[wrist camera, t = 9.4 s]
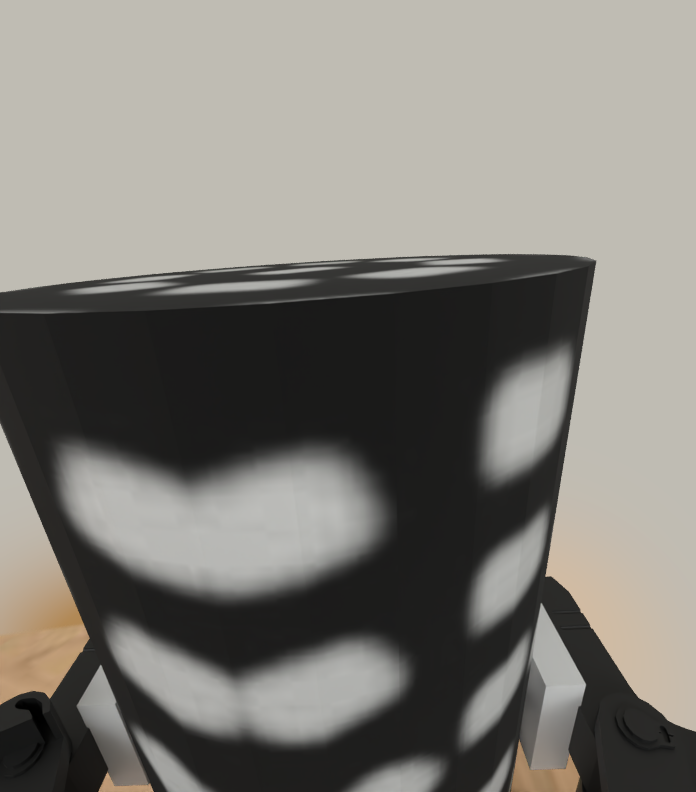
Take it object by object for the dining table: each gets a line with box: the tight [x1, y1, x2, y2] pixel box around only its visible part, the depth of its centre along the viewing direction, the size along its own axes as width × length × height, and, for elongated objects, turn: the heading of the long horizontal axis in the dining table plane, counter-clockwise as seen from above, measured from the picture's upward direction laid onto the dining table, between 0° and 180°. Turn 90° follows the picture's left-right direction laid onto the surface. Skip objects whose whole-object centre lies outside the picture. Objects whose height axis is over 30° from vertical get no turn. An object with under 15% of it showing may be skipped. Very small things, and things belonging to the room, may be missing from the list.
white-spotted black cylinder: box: [0, 254, 596, 792], centre depth 10 cm, size 8×8×20 cm
